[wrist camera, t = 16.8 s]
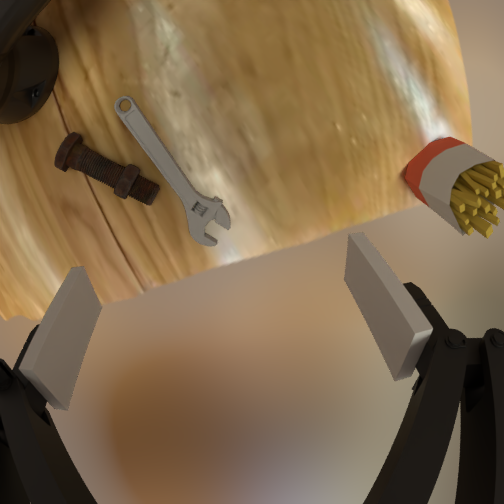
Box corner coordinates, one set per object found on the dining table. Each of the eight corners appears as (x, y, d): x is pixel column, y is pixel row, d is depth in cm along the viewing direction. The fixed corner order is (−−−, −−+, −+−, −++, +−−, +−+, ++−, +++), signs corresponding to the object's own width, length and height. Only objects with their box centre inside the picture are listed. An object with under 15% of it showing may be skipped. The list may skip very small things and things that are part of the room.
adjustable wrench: (113, 103, 34) (109, 104, 33) (153, 77, 33) (150, 77, 32) (201, 245, 47) (200, 251, 45) (239, 227, 46) (239, 233, 44)
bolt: (157, 190, 43) (72, 147, 37) (168, 171, 39) (76, 124, 33) (142, 221, 40) (51, 175, 34) (153, 203, 36) (53, 152, 30)
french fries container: (395, 171, 43) (468, 224, 27) (439, 131, 39) (521, 168, 24) (408, 191, 45) (477, 248, 29) (450, 152, 41) (526, 195, 26)
